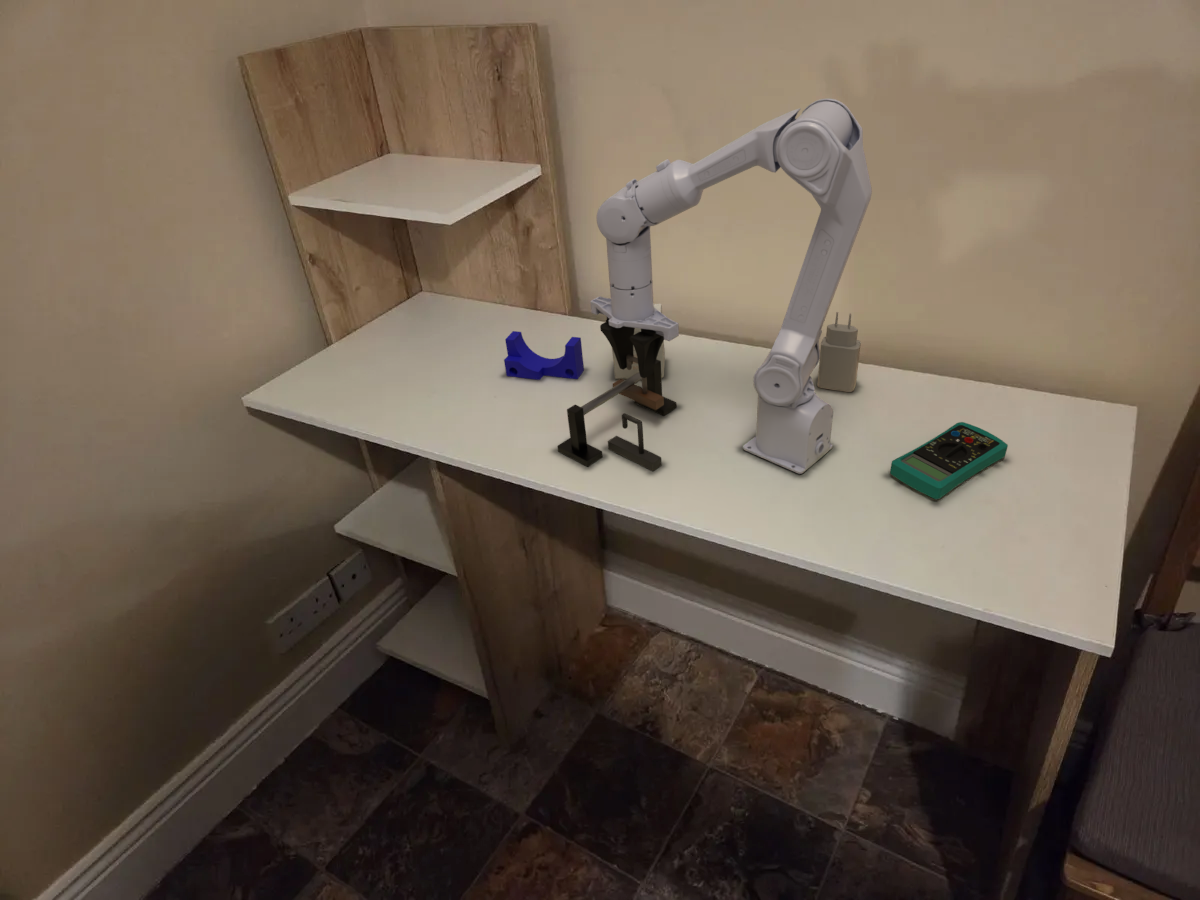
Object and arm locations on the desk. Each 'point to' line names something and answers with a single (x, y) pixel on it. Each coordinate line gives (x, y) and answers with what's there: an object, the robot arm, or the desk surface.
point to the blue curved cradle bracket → (542, 360)
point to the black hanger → (634, 447)
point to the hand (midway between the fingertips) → (636, 370)
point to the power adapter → (839, 357)
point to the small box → (635, 369)
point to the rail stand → (577, 441)
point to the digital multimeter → (948, 459)
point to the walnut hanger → (640, 390)
